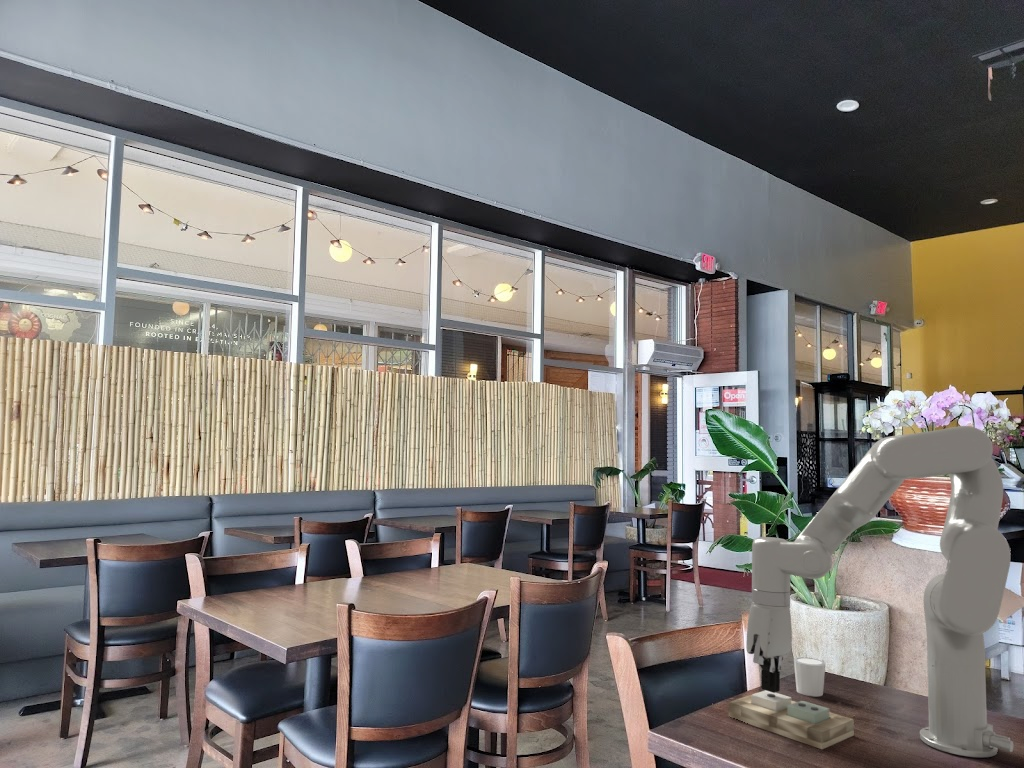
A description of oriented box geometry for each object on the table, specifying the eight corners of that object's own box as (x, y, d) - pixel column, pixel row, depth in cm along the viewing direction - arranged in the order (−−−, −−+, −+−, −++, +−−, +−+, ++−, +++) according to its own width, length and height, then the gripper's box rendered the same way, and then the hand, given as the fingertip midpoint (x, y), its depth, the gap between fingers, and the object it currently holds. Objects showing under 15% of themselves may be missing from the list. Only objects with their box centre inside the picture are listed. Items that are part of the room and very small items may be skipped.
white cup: (829, 698, 164) (828, 666, 165) (796, 695, 165) (796, 663, 166) (822, 689, 171) (822, 658, 171) (791, 686, 172) (791, 655, 173)
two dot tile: (829, 720, 143) (829, 707, 143) (814, 726, 139) (814, 713, 139) (802, 711, 147) (802, 699, 147) (787, 717, 144) (787, 704, 144)
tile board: (853, 735, 142) (853, 719, 142) (822, 749, 135) (822, 732, 135) (761, 705, 158) (761, 691, 158) (728, 717, 150) (728, 701, 150)
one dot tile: (791, 708, 149) (791, 696, 149) (776, 713, 145) (776, 701, 146) (766, 700, 153) (766, 688, 154) (751, 705, 150) (751, 693, 150)
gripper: (774, 592, 159) (773, 679, 157) (733, 598, 150) (733, 691, 148) (806, 598, 153) (806, 689, 152) (767, 605, 144) (766, 702, 142)
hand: (770, 690), depth 150 cm, fingers closed
